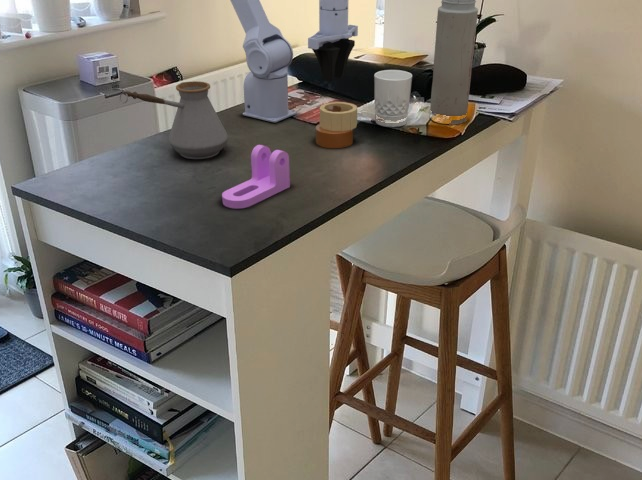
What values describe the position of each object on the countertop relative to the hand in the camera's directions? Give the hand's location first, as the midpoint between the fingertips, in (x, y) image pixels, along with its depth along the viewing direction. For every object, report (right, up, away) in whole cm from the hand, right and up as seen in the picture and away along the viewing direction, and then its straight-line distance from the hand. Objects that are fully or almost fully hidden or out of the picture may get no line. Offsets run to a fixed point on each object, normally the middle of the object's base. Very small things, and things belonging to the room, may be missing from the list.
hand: (333, 79), depth 155 cm
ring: (+1, -10, -3) cm, 11 cm away
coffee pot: (-30, -19, -10) cm, 37 cm away
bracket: (-14, -29, -24) cm, 40 cm away
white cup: (+13, -7, +8) cm, 16 cm away
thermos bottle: (+25, -6, +9) cm, 27 cm away
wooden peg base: (0, -14, -2) cm, 14 cm away
